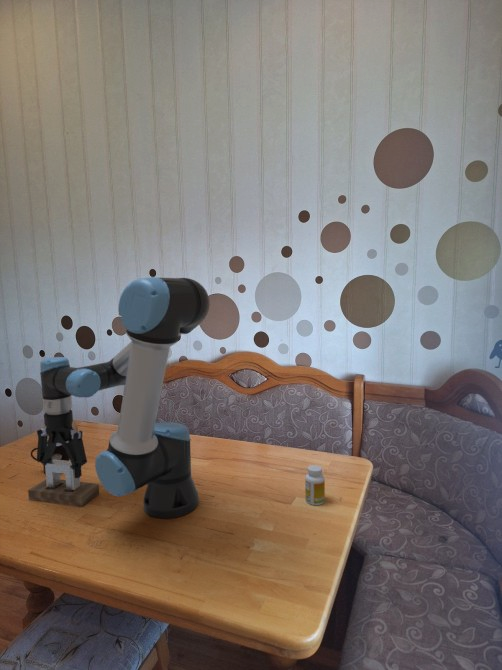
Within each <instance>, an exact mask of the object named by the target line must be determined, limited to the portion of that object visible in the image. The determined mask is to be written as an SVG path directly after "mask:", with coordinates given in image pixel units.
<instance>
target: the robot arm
mask: <svg viewBox="0 0 502 670" xmlns="http://www.w3.org/2000/svg"><path fill="white" fill-rule="evenodd" d="M119 297H120V298H119V301H118V308H117V309H118V315H119V316H120V319H119V321H120V322H121V324H122V326H123V327H124V329H126V332H125V333H126V336H127V337H128V338H129V339H130V340H131V341H130V342H129V343H127V345H126V346H124V348H122V349H121V350H120V351H119V352H118V353H117V354H116V355H115V356H114V357H113V358H111V359H110V360H109V361H105V362H102V363H97V364H96V363H95V364H92V365H85V366H81V367H80V366H79V367H75V366H74V367H73V366H70V365H71V364H70V361H69V359H68V358H67V357H65V356H55V357H54V356H53V357H48V358H44V359H42V360H41V361H40V372H39V374H40V384H41V385H40V386H41V395H42V407H43V408H42V409H43V412H44V414H43V419H44V421H43V422H44V423H43V424H44V426H45V427H42V428H39V429H38V430H37V431H36V434H37V447H36V448H37V450H36V452H37V453H36V459H37V461H36V462H37V463H41V462H42V463H41V464H42V465H43V473H44V475H45V479H46V484H47V487H48V475H47V463H48V462H50V461H52V460H53V459H52V456H53V453H54V450H55V447H56V444H57V443H60V444H62V446H63V447H64V448H65V450H66V452H67V454H68V456H69V461H71V463H72V465H73V467H72V468H71V481H72V490H75V489H77V488H78V487H79V486H80V482H81V477H82V467H83V466H84V465H86V464H87V463H88V459H87V455H86V450H85V447H84V446H85V445H84V442H83V441H84V440H83V431H82V430H78V431H74V430H73V428H72V422H73V421H74V418H73V414H74V413H73V410H72V409H73V400H72V397H75V398H91V397H93V396H95V394H96V393H98V392H99V391H102V390H107V389H111V388H115V387H119V386H123V387H124V389H123V393H122V394H123V395H122V399H121V400H122V401H121V408H120V412H119V419H118V426H117V429H115V430H114V432H112V433H111V435H110V436H109V441H108V446H107V449H106V450H103V451H101V452H100V453H99V454H98V455H96V458H95V464H94V466H95V472H96V475H97V478H98V480H99V482H100V484H101V486H102V487H103V488H104V489H105V490H106V491H107V493H109V494H110V495H113V496H115V497H124V496H126V495H129V494H131V493H132V494H133V493H134V492H135V491H137V490H139V489H140V488H143V487H144V486H146V485H147V486H146V490H145V494H144V497H143V511H144V513H146V515H149V516H150V517H153V518H158V519H174V518H179V517H182V516H185V515H187V514H190V513H191V512H193V511H195V509H197V506H199V493H198V490H197V487H196V484H195V482H194V480H193V477H192V465H191V464H192V461H191V455H192V454H191V441H192V440H191V438H190V437H191V436H190V429H189V427H188V426H187V425H185V424H182V423H179V422H174V421H173V422H171V421H167V422H166V421H163V422H157V416H158V411H159V408H160V407H159V406H160V402H161V395H162V391H163V385H164V384H163V383H164V381H165V374H166V370H167V369H166V367H167V364H168V358H169V353H170V348H171V347H172V346H174V345H175V344H177V343H178V341H179V337H180V336H181V335H188V334H190V333H191V332H192V331H193V330H195V329H196V328H197V327H199V326H200V324H201V323H203V321H205V319H206V317H207V316H208V314H209V311H210V298H209V294H208V292H207V290H206V289H205V287H204V285H203V284H201V283H199V281H197V280H194V279H192V278H188V277H155V276H149V277H142V278H137V279H134V280H133V281H131V282H130V283H128V284H127V285H126V286H125V288H124V289H123V290H122V293H121V295H120V296H119ZM47 440H48V442H47ZM67 441H68V442H67ZM66 442H67V443H66ZM47 444H48V445H47ZM76 462H77V463H76Z"/></svg>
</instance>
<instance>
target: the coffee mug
mask: <svg viewBox="0 0 502 670" xmlns="http://www.w3.org/2000/svg"><path fill="white" fill-rule="evenodd" d="M47 442H48V439H47ZM67 442H68V441H67ZM67 442H66V443H67ZM47 445H48V444H47ZM37 448H38V447H35V448H33V449H32V450H31V452H30V457H31V459H33V460H34V461H36V462H37V457H36V456H34V455H33V452H35V451H37ZM52 459H53V460H54V459H55V460H65V461H70V459H69V456H68V454H67V452H66V450H65V448H64V447H63V446H62V444H60V443H57V444H56V447H55V450H54V453H53V456H52ZM40 463H41V464H42V462H40ZM61 474H62V473H60V475H61Z"/></svg>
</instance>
